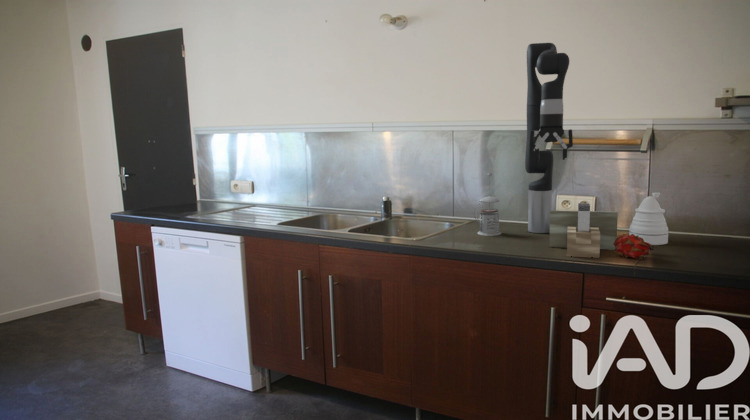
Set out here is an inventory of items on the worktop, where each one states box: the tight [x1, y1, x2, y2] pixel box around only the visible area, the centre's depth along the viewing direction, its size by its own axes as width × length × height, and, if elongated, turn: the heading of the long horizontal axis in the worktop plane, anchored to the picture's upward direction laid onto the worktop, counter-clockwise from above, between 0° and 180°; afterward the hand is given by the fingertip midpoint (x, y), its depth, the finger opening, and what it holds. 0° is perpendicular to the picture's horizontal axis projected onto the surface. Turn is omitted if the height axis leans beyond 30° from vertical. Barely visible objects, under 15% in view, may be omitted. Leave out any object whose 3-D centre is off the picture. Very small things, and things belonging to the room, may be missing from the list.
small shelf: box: [548, 210, 619, 259], centre depth 184 cm, size 16×22×13 cm
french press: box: [473, 172, 502, 237], centre depth 221 cm, size 10×12×25 cm
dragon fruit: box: [613, 233, 654, 260], centre depth 175 cm, size 8×8×12 cm
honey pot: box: [628, 192, 669, 246], centre depth 199 cm, size 13×13×18 cm
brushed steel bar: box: [577, 202, 591, 232], centre depth 182 cm, size 7×4×12 cm, turn 160°
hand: (550, 159), depth 190 cm, fingers open, 8 cm apart
